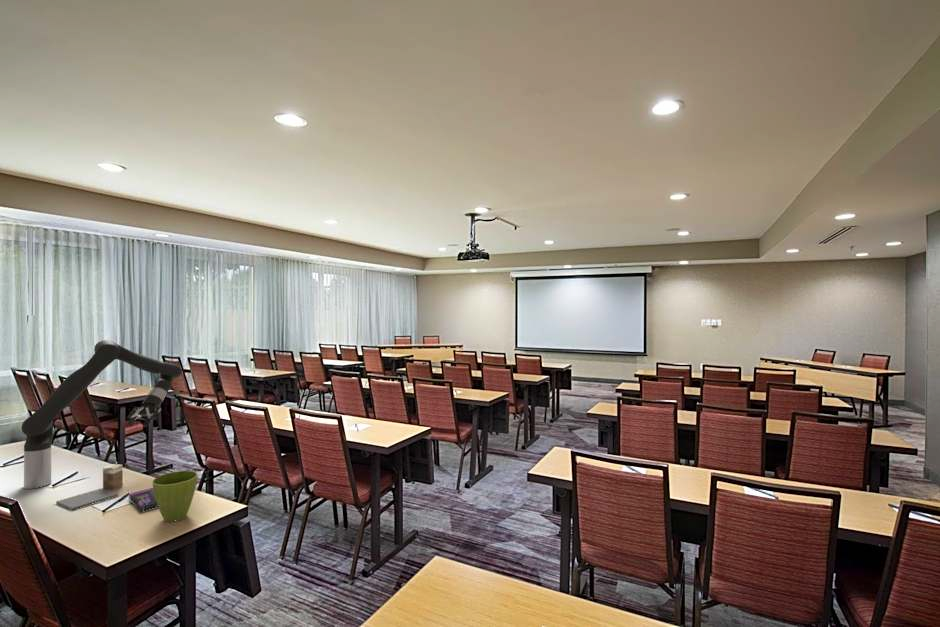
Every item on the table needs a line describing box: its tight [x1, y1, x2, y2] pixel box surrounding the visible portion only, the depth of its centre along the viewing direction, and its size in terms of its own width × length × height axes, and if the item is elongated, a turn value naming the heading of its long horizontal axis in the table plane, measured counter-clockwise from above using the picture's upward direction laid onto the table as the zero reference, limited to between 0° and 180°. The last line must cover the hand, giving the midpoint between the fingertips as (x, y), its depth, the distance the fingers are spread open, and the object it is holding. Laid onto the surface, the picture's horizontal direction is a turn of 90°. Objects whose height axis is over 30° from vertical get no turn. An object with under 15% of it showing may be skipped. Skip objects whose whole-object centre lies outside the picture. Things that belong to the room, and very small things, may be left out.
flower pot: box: [152, 470, 199, 522], centre depth 177 cm, size 15×15×16 cm
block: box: [102, 463, 124, 491], centre depth 207 cm, size 5×5×10 cm
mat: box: [55, 487, 118, 511], centre depth 193 cm, size 14×16×1 cm
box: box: [128, 487, 158, 513], centre depth 193 cm, size 14×4×20 cm
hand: (136, 426), depth 221 cm, fingers open, 8 cm apart
